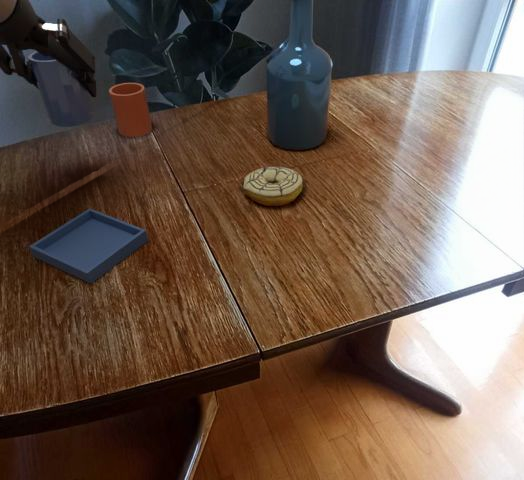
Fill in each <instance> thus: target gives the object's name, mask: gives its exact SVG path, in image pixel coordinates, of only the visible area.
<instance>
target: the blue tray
mask: <svg viewBox="0 0 524 480" xmlns="http://www.w3.org/2000/svg"><path fill="white" fill-rule="evenodd" d="M148 241H149V236H148V232H147V230H146V229H144V228H142V227H139V226H138V225H137V226H136V225H134V224H133V223H132V224H131V223H129V222H126V221H124V220H122V219H118V218H116V217H113V216H111V215H108V214H106V213H103V212H100V211H98V210H95V209H93V208H91V207H89V208H88V209H87V210H84V211H83V212H81V213H80V214H78V215H77V216H75V217H73V218H72V219H70V220H69V221H67V222H66V223H64V224H62V225H61V226H59V227H57V228H56V229H55V230H53V231H51V232H50V233H48V234H46V235H45V236H43V237H42V238H40V239H39V240H37V241H35V242H34V243H32V244H30V245H29V246H28V248H29V250H30V252H31V254H32V256H33V258H35V259H36V260H40V261H42V262H43V263H46V264H48V265H50V266H52V267H54V268H56V269H58V270H60V271H63V272H64V273H66V274H69V275H71V276H73V277H75V278H77V279H80V280H82V281H84V282H86V283H88V284H90V285H92V284H93V283H94V282H95V281H97V280H98V279H99V278H101V277H103V276H104V275H105V274H106V273H108V272H109V271H110V270H112V269H113V268H114V267H116V266H117V265H119V264H120V263H121V262H123V260H125V259H126V258H127V257H130V255H132V254H133V253H134V252H135V251H137V250H139V248H141V247H142V246H144V245H145V244H146V243H148Z"/></svg>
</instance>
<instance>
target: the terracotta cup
mask: <svg viewBox="0 0 524 480" xmlns="http://www.w3.org/2000/svg"><path fill="white" fill-rule="evenodd" d="M108 93H109V98H110V102H111V106H112V110H113V115H114V118H115V122H116V127H117V130H118V134H120V135H121V136H123V137H127V138H139V137H143V136H146V135H147V134H149V133H151V132H152V131H153V125H152V124H153V123H152V120H151V119H152V118H151V114H150V108H149V105H148V99H147V93H146V87H145V86H144V85H143V84H142V83H138V82H124V83H119V84H118V83H117V84H115V85H113V86H111V87H110V88H109V89H108ZM152 138H153V137H151V138H149V139H147V140H146V141H144V143H146V142H148V141H150V140H152Z"/></svg>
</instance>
